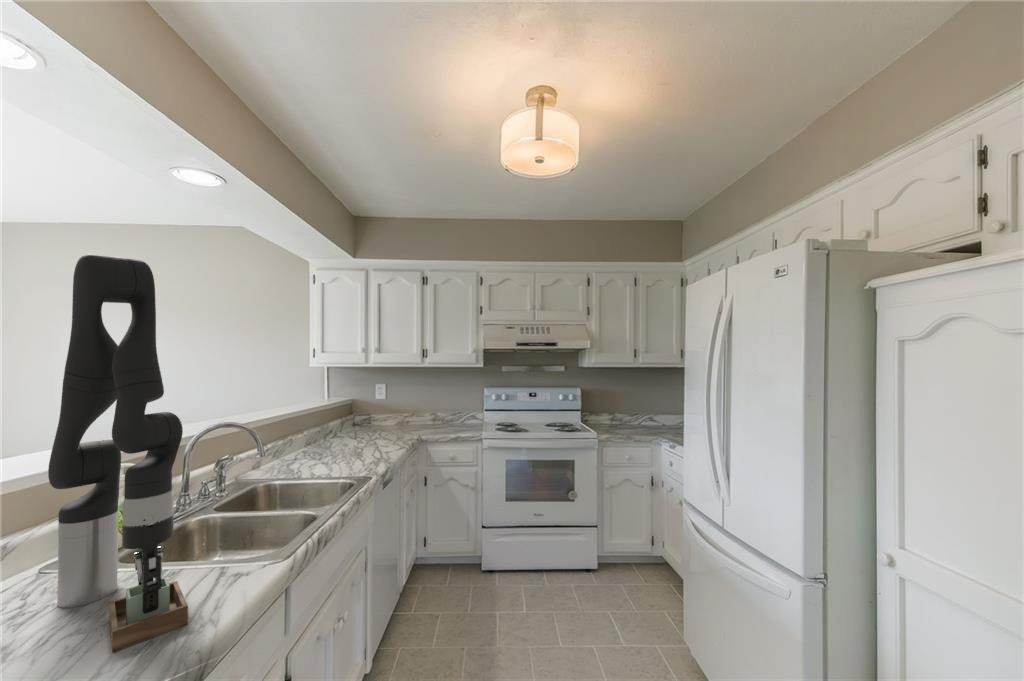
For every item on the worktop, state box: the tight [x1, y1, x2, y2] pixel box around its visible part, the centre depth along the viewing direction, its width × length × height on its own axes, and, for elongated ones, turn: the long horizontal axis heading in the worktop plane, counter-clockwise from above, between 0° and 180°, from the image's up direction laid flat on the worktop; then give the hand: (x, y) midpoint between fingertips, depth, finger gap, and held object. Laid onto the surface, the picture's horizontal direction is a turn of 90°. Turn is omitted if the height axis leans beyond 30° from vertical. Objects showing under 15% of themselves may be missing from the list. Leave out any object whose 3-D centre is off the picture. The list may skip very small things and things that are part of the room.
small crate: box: [125, 576, 170, 625], centre depth 81 cm, size 5×6×6 cm
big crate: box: [108, 580, 189, 654], centre depth 81 cm, size 13×10×4 cm
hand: (148, 602), depth 81 cm, fingers open, 8 cm apart
